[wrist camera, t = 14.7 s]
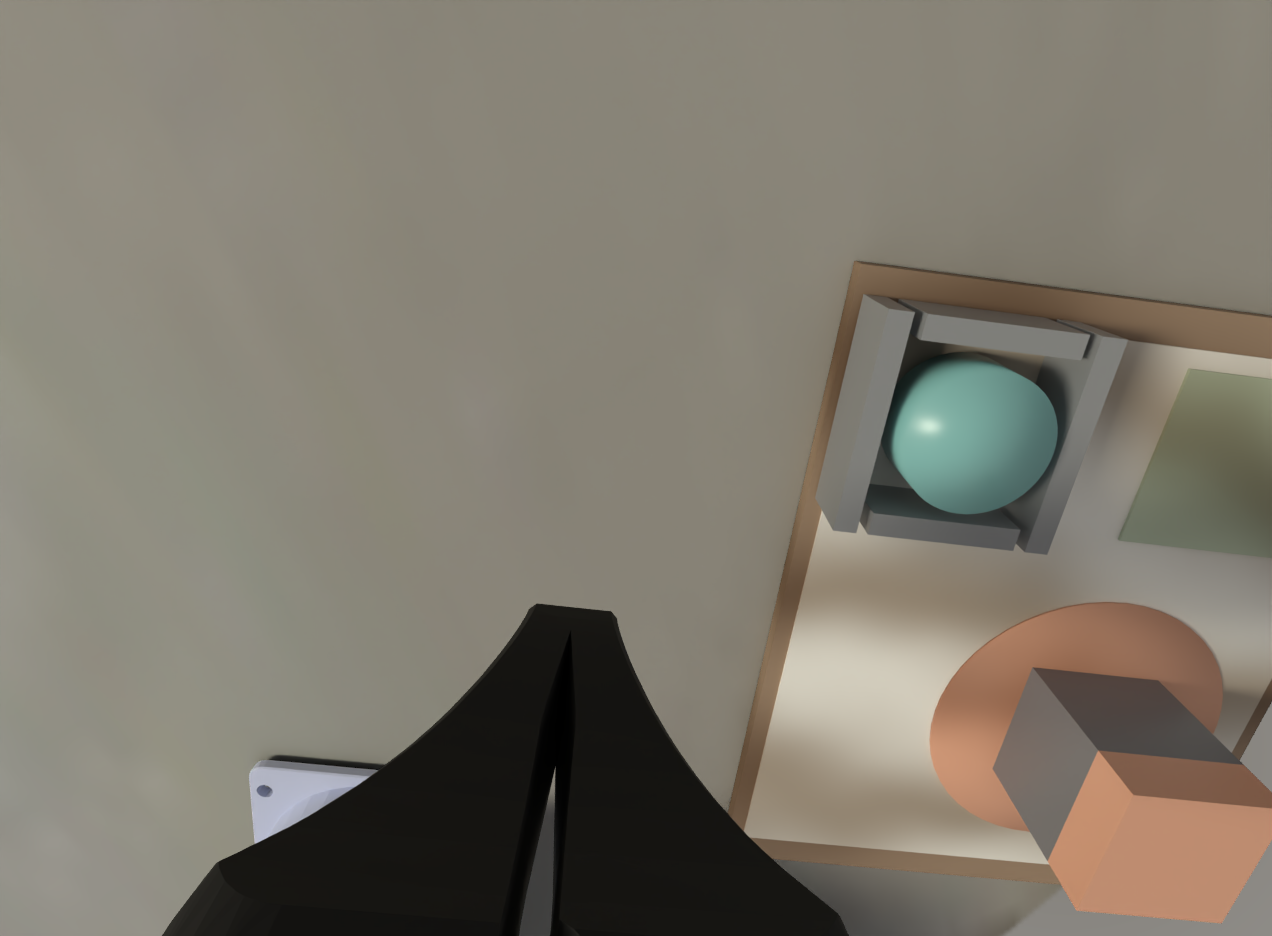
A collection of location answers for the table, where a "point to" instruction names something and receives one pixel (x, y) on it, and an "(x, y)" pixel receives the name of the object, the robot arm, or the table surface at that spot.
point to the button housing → (1067, 377)
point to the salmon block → (1132, 797)
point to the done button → (969, 432)
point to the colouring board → (1016, 596)
